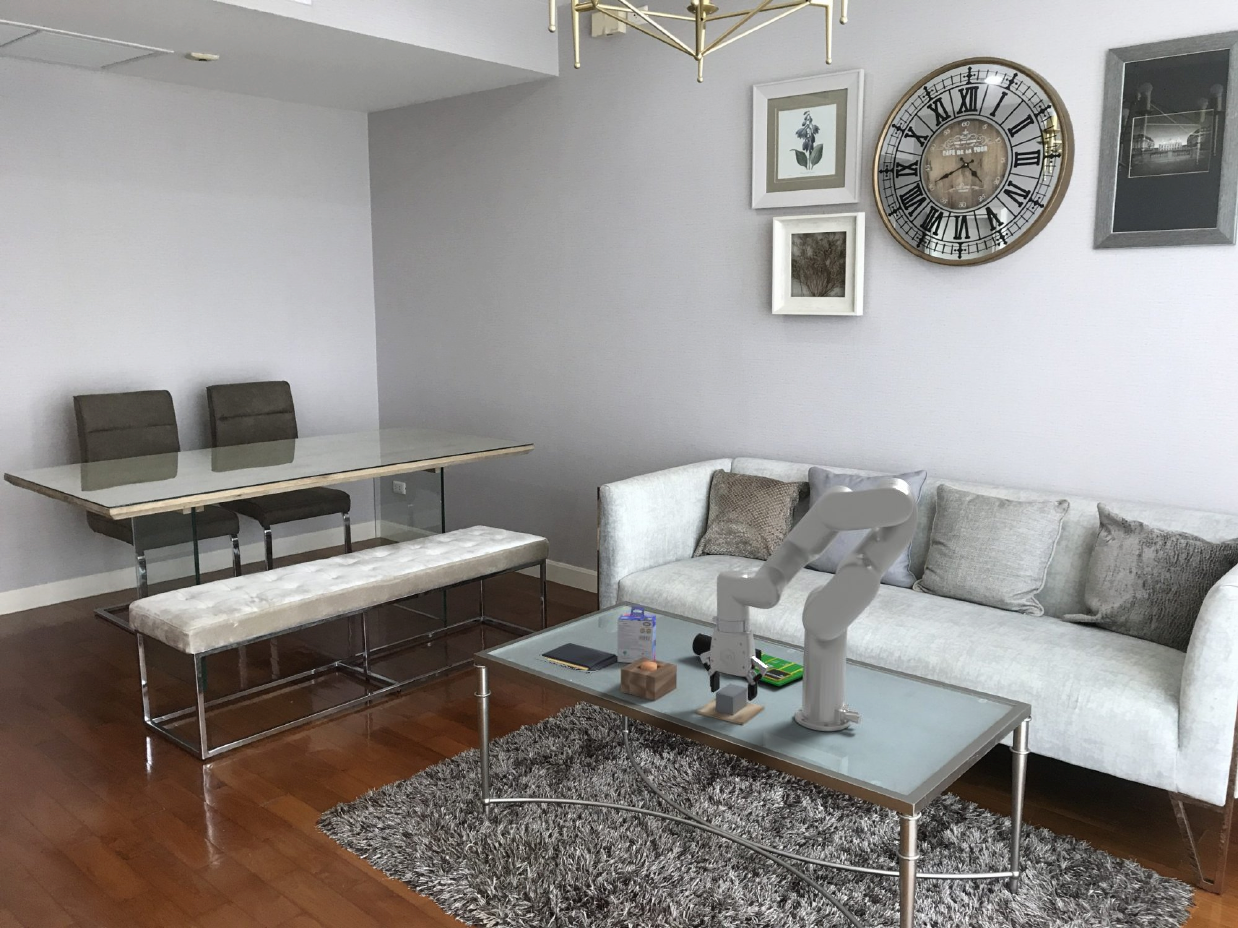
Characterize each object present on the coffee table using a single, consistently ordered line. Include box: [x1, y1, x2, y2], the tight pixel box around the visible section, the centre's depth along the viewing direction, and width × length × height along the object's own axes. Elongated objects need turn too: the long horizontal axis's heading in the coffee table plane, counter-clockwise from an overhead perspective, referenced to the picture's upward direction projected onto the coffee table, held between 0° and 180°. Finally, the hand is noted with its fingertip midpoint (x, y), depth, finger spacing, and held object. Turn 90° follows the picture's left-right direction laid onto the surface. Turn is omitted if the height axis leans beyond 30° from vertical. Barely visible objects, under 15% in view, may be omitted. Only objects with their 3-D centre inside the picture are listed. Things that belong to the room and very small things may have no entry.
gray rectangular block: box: [715, 683, 748, 716], centre depth 230 cm, size 7×4×4 cm, turn 146°
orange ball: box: [641, 662, 657, 672], centre depth 243 cm, size 4×4×4 cm
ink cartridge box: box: [616, 606, 657, 664], centre depth 263 cm, size 10×6×14 cm, turn 79°
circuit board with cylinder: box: [692, 632, 803, 687], centre depth 258 cm, size 30×7×15 cm
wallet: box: [540, 642, 618, 674], centre depth 266 cm, size 20×2×15 cm
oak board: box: [696, 697, 765, 726], centre depth 231 cm, size 12×11×1 cm
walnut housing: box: [620, 657, 678, 702], centre depth 243 cm, size 10×10×6 cm
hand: (733, 694), depth 230 cm, fingers open, 9 cm apart
